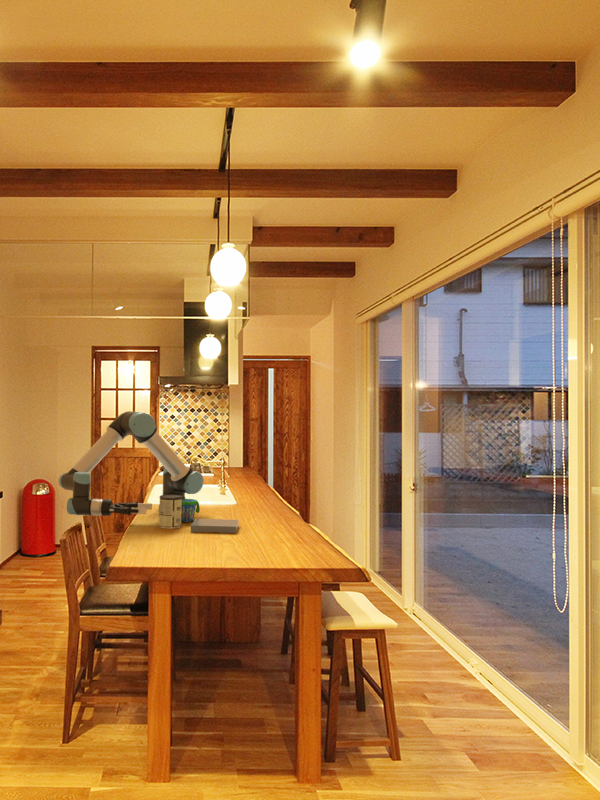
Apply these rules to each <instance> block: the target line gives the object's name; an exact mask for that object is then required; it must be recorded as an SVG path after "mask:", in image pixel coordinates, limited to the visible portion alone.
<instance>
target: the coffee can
mask: <svg viewBox="0 0 600 800" xmlns="http://www.w3.org/2000/svg"><path fill="white" fill-rule="evenodd" d="M159 504H160V509H159V508H158V511H159V513H158V514H159V515H158V517H159V518H158V528H161V529H165V530H167V529H170V530H172V529H180V528H182V522H181V515H182V496H181V495H163V494H162V495H160V496H159Z"/></svg>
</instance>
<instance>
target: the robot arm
mask: <svg viewBox="0 0 600 800" xmlns="http://www.w3.org/2000/svg"><path fill="white" fill-rule="evenodd" d="M128 436H132V437H133V438H134V440H135V441H137V443H139V444H143V445H144V446H145V447H146V448H147V449H148V450H149V451H150V452H151V453H152V455H153V456H154V457H155V458H156V459H157V461H158V462H159V463H160V464H161V465H162V466H163V467H164V469H163V473H162V495H181V496H182V499H187V498H186V494H188V495H196V494H197V493H199V492H200V491H202V488H203V485H204V476H203V475H202V473H201V472H199V471H197V470H196V471H195V470H194V469H193V467H192V466H191V465H190V464H189V463H184V462H183V460H182V459H181V458H180V457H179V456H178V454H176V452H175V451H174V450H173V449H172V447H171V446H170V445H169V444H168V443H167V442H166V440H165V439H164V438H163V437H162V436H161V435H160V434H159V433H158V426H157V425H156V420H155V418H154V416H152V415H151V414H150V413H147V412H146V411H145V412H144V411H125V412H123V413H121V414H119V415H118V416H117V417H116V418H115V419H114V420H113V421H112V422H110V424H109V425H107V427H106V431H105V432H104V433H103V434H102V435H101V436H100V437H99V438H98V440H97V441H96V442H95V443H94V444H93V445H92V446H91V447H89V448H90V449H88V450H87V452H85V454H84V455H83V456H82V457H81V458H80V459H79V460H78V461H77V462H76V463H75V464H74V465H73V467H71V469H70V470H68V472H65V473H62V474H61V475H59V478H58V485H59V487H61V489H64V490H67V491H71V492H72V497H69V498H68V499H67V501H66V512H67V514H69V515H75V516H94V517H97V516H102V517H106V516H107V517H110V516H111V515H112V514H121V515H128V516H131V515H132V514H133V515H146V514H147V510H151V511H152V510H153V504H152V503H143V502H142V503H141V502H140V503H139V501H136V502H116V503H114V502H113V500H112V499H111V498H110V499H109V498H105V499H102V498H91V482H92V480H91V479H92V478H91V473H90V472H92V471H93V469H95V467H96V466H97V465H98V464H99V463H100V462H101V461H102V459H104V458H105V456H106V455H108V453H109V452H110V451H111V450H112V448H113V449H114V447H115V445H116V444H118V442H123V440H124V439H125V438H126V437H128ZM159 509H160V503H159V504H158V510H159Z"/></svg>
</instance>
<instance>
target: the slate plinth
mask: <svg viewBox="0 0 600 800" xmlns="http://www.w3.org/2000/svg"><path fill="white" fill-rule="evenodd" d="M239 520H240V519H226V518H225V519H223V518H221V519H220V518H217V519H216V518H194V520H193V521H192V523H191V524H190V533H200V532H219V533H218V534H237V532H238V529H239V523H240V522H239Z"/></svg>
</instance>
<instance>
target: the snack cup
mask: <svg viewBox="0 0 600 800" xmlns="http://www.w3.org/2000/svg"><path fill="white" fill-rule="evenodd" d="M200 510H201V509H200V503H199V501H198V500H197V499H193V498H186V499H182V515H181V523H189V522H194V520H195V515H196V513H197V514H199V513H200Z"/></svg>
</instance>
